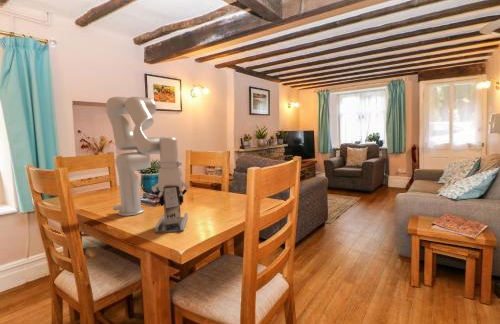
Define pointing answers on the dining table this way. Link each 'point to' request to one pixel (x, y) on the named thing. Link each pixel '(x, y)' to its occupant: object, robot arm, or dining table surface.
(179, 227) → the floor track
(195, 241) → the dining table surface
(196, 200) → the dining table surface
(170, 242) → the dining table surface
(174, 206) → the coffee box
